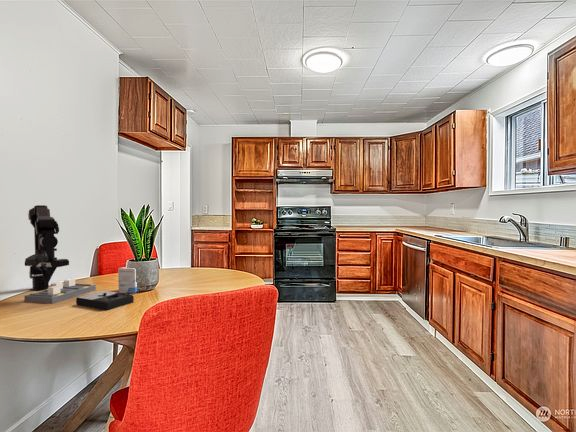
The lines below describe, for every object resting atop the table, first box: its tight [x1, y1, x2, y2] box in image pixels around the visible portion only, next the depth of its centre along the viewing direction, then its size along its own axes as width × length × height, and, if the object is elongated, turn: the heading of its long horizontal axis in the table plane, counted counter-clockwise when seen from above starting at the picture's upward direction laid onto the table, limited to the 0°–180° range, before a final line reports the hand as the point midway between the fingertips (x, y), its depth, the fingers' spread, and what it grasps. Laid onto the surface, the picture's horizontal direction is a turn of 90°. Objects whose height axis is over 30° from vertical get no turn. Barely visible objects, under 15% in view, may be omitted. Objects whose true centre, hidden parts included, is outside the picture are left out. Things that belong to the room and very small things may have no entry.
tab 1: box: [50, 281, 64, 289], centre depth 161 cm, size 3×4×3 cm
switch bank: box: [23, 282, 97, 304], centre depth 161 cm, size 15×24×3 cm, turn 167°
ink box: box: [117, 266, 138, 294], centre depth 167 cm, size 9×5×12 cm, turn 84°
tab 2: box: [47, 286, 61, 295], centre depth 153 cm, size 3×4×3 cm
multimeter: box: [75, 290, 135, 312], centre depth 147 cm, size 13×19×5 cm
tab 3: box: [63, 278, 76, 287], centre depth 168 cm, size 3×4×3 cm
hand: (47, 281), depth 154 cm, fingers closed
